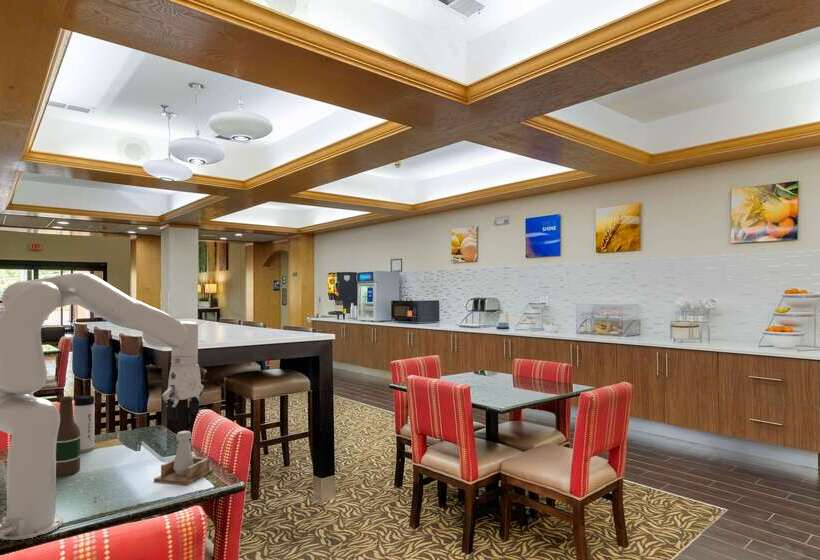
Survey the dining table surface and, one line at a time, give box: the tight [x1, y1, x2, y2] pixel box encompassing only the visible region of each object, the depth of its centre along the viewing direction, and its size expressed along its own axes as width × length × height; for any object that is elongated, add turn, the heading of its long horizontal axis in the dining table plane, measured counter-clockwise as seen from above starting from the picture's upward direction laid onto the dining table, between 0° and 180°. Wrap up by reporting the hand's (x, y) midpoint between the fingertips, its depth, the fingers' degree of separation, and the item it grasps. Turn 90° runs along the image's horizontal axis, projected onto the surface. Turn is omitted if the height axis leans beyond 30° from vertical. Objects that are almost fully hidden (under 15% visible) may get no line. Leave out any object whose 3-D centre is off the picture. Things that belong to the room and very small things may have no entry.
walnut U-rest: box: [153, 456, 214, 486], centre depth 160 cm, size 12×12×4 cm
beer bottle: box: [56, 395, 81, 478], centre depth 164 cm, size 8×8×24 cm
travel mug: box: [72, 394, 96, 454], centre depth 187 cm, size 6×7×20 cm
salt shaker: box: [173, 430, 194, 476], centre depth 160 cm, size 6×6×13 cm
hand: (183, 416), depth 160 cm, fingers open, 9 cm apart
